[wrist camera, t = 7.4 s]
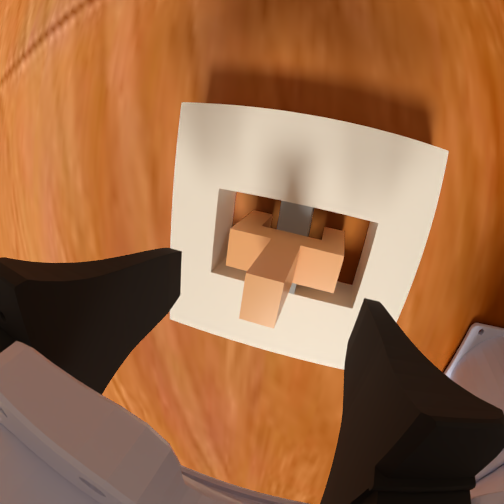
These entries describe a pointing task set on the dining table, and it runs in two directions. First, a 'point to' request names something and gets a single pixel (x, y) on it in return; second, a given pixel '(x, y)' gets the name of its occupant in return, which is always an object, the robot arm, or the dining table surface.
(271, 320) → the notched wooden block
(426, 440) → the robot arm
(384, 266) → the square window frame
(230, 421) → the dining table surface
